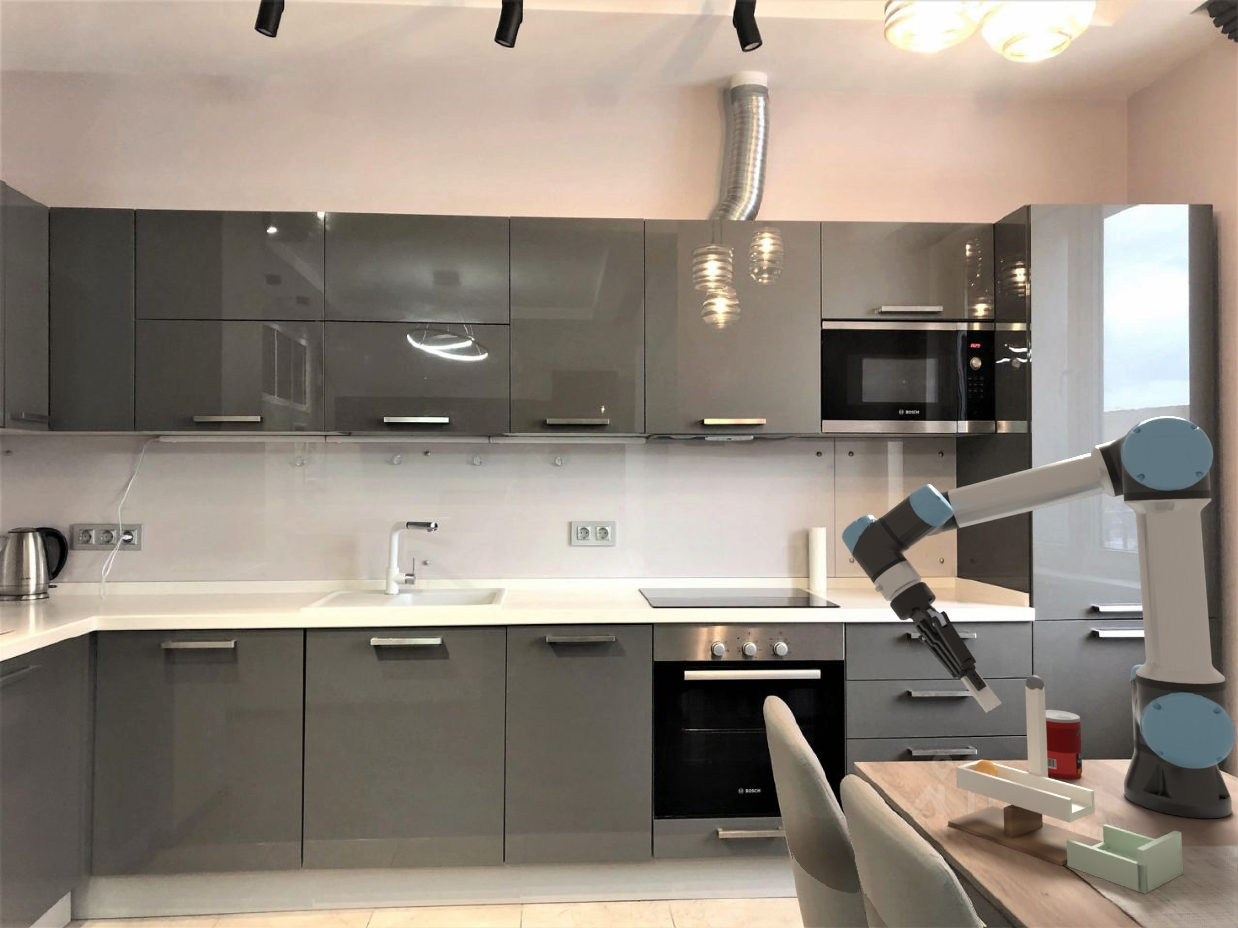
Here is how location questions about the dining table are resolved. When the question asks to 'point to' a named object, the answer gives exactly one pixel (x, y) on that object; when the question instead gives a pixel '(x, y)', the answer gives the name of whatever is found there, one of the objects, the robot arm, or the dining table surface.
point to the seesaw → (1031, 772)
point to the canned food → (1063, 744)
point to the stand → (1021, 832)
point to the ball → (986, 767)
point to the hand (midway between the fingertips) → (993, 707)
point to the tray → (1129, 858)
